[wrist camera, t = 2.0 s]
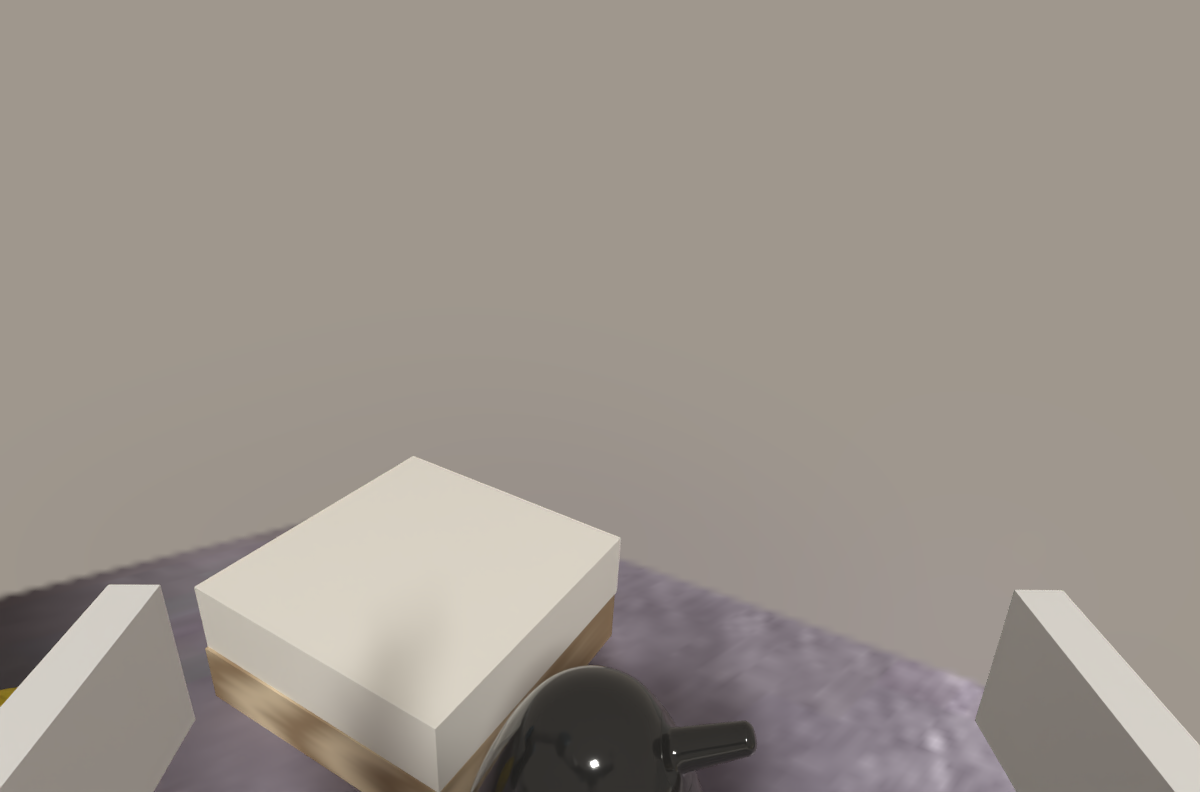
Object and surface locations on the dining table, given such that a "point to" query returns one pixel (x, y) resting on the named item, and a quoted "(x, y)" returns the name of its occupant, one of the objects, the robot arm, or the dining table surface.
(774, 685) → the dining table surface
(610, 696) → the pump dispenser
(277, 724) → the tower base
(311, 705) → the tower top
